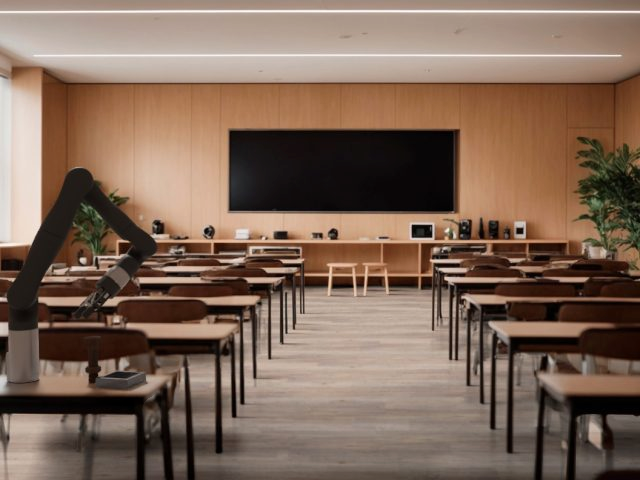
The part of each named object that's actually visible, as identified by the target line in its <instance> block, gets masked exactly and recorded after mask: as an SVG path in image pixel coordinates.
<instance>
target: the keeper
mask: <svg viewBox="0 0 640 480" xmlns="http://www.w3.org/2000/svg"><path fill="white" fill-rule="evenodd" d="M145 382H147V372H146V371H132V370H131V371H130V370H129V371H128V370H113V371H111V372H108V373H105V374H102V375H100V376H99V375H98V377H97V378H96V383H95V388H99V389H100V388H101V389H102V388H103V389H115V390H116V389H117V390H118V389H119V390H129V389H131V388H133V387H136V386H139V385H141V384H143V383H145Z"/></svg>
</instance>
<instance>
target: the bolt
mask: <svg viewBox="0 0 640 480" xmlns="http://www.w3.org/2000/svg"><path fill="white" fill-rule="evenodd" d="M82 339H83V340H82V343H84V344H87V345H86V347H87V359H88V361H87V366H86V367H85V368H84V371H85V373H87V374H88V384H91V383H93V384H96V378H97V377H99V374H100V373H101V372H102V366H101V365H99V343H101V342H103V337H101V336H99V335H91V336H85V337H83V338H82Z"/></svg>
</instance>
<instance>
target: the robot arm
mask: <svg viewBox="0 0 640 480" xmlns="http://www.w3.org/2000/svg"><path fill="white" fill-rule="evenodd" d="M83 201H84V202H85V203H87V204H88V205H89V206H90V207H91V208H92V209H93V210H94V211H95V212H96V213H97V214H98V216H99V217H100V218H101V219H102V220H103V221H104V222H105V224H106V225H107V226H108V227H109V228H110V229H111V230H112V231H113V232H114V233H115V234H116V235H117V236H118V238H120V239H121V240H122V241H124V242H125V241H127V242H128V243H130V244H131V247H130V248H129V249H128V250H127V251H126V253H125V254H124V256H122V257H121V258H120V259H119V260H118V261H117V262H116V263H115V264H114V265H113V266H112V267H110V268H109V269H108V271H106V272H105V273H104V274H103V275H102V276H101V278H100V279H98V281H97V282H96V283H95V285H94V286H95V288H96V289H97V291H95V292H91V293H90V294H89V295H88V296H87V297H85V299H84V300H83V301H81V303H80V304H79V308H78V309H77V310H76V311H75V312H74V313H73V314H72V316H73V317H74V318H75V319H76V320H79V319H80V318H81V317H82V318H83V319H85V320H88V318H89V317H90V316H92V314H93V313H94V312H96V311H97V310H100V309H101V308H102V307H103V306H104V304H106V302H107V301H108V300H113V299H115V297H116V296H117V295H118V294H119V293H120V291H121V290H123V288H124V287H126V285H127V284H128V282H129V281H130V280H131V279H132V278H133V277H134V275H136V273H137V272H138V271H139V269H140V267H141V266H142V265H143V264H144V263H145V261H146V260H148V259H149V258H152V257H153V256H154V255H156V253H157V252H158V243H157V242H156V240H155V238H154V237H153V236H152V235H151V234H149V233H148V232H147V231H145V230H144V229H143V228H141V227H140V226H138V225H137V224H136V223H135V222H134V221H133V220H132V218H130V216H128V215H127V214H126V213H125V212H124V211H123V210H122V209H121V208H120V207H119V206H118V205H116V203H114V202H113V201H112V200H111V199H110V198H109V197H108V196H107V195H106V194H105V193H104V192H103V190H102V189H101V188H100V187H99V185H98V184H97V182H96V181H95V180H94V176H93V174H92V173H91V172H90V170H89V169H87V168H85V167H82V166H76V167H74V168H71V169H69V170H68V171H67V173H66V175H65V177H64V180H63V182H62V186H61V188H60V191H59V194H58V196H57V198H56V201H55V202H54V204H53V205H52V206H51V208H50V209H49V212H48V213H47V214H46V216H45V218H44V220H43V221H42V223H40V226H39V228H38V230H37V232H36V234H35V236H34V237H33V240H32V242H31V244H30V247H29V250H28V252H27V255H26V258H25V261H24V263H23V265H22V267H21V269H20V271H19V272H18V274H17V275H16V277H15V278H14V280H13V282H12V283H11V285H10V286H9V287H8V289H7V291H6V293H5V294H6V296H5V298H6V301H7V304H8V322H7V331H8V333H7V334H8V336H7V337H8V351H7V352H6V353H5V356H6V357H5V362H6V363H5V364H6V382H10V383H12V384H13V383H14V384H15V383H16V384H22V383H23V384H24V383H30V382H34V381H35V382H36V381H38V380H40V352H39V351H40V349H39V347H40V346H39V344H40V343H39V313H40V312H39V310H40V308H39V306H40V305H39V303H40V302H39V289H40V286H41V284H42V282H43V279H44V277H45V275H46V273H47V271H48V270H49V269H50V267H51V266H52V264H53V263H54V262H55V260H56V259H57V258H58V255H59V254H60V252H61V251H62V249H63V246H64V244H65V243H66V241H67V239H68V237H69V234H70V231H71V230H72V226H73V224H74V221H75V217H76V214H77V212H78V209H79V208H80V206H81V205H82V203H83Z"/></svg>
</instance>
